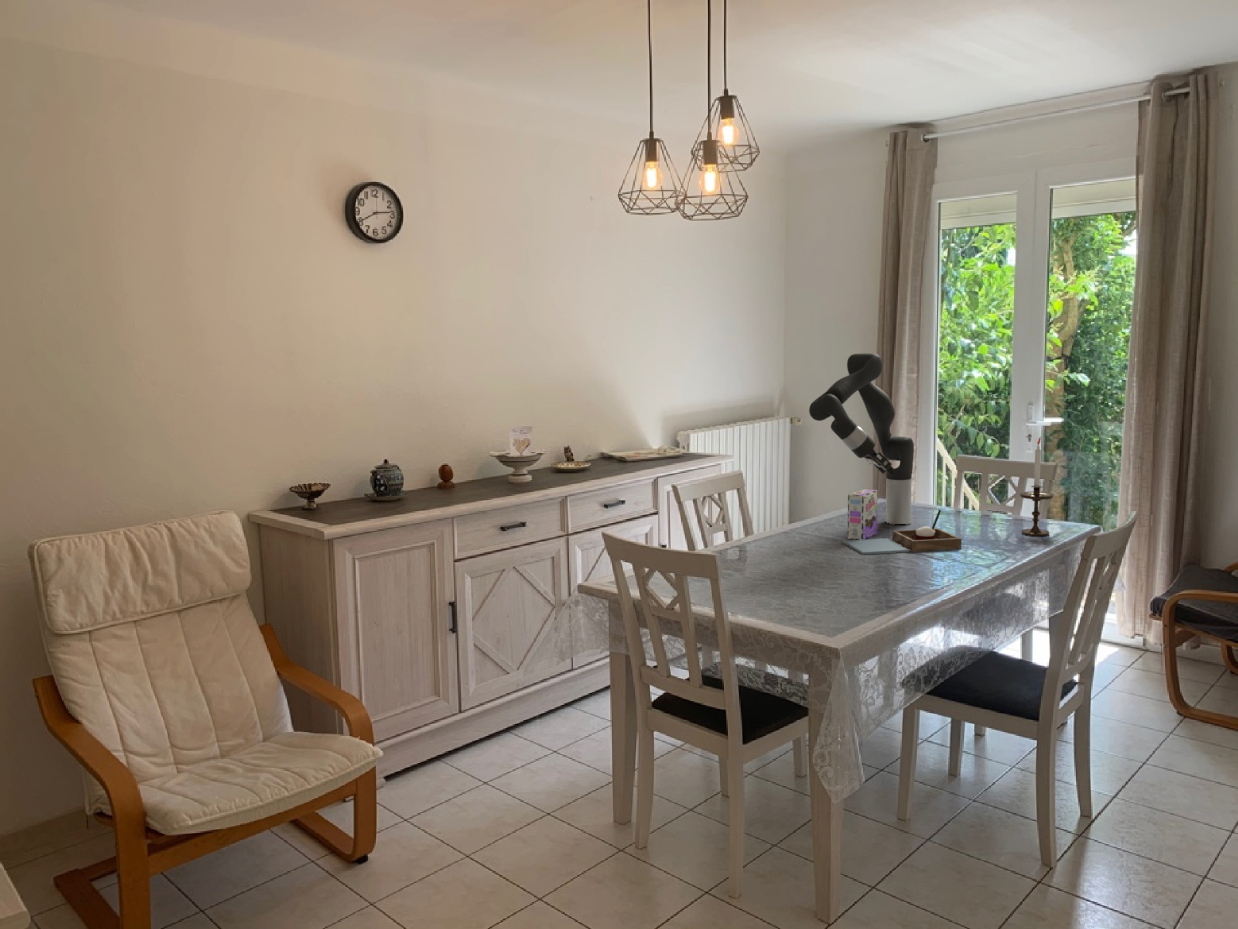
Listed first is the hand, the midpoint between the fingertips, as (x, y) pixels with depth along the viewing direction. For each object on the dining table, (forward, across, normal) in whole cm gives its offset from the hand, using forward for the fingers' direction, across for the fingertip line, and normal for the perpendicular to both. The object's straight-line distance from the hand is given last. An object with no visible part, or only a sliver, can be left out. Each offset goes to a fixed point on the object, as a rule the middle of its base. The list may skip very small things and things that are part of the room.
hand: (890, 473), depth 314 cm
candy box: (+16, +17, +20) cm, 31 cm away
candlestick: (+58, +7, -22) cm, 63 cm away
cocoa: (+27, 0, +9) cm, 29 cm away
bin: (+27, 0, +8) cm, 28 cm away
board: (+14, 0, +21) cm, 26 cm away
